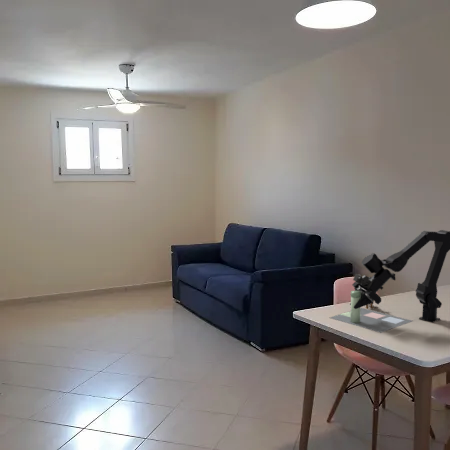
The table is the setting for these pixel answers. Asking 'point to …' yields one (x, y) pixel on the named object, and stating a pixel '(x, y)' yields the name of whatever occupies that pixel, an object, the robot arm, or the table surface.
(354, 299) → the pale green cylinder
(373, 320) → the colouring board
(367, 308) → the lion figurine
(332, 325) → the table surface
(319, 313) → the table surface
